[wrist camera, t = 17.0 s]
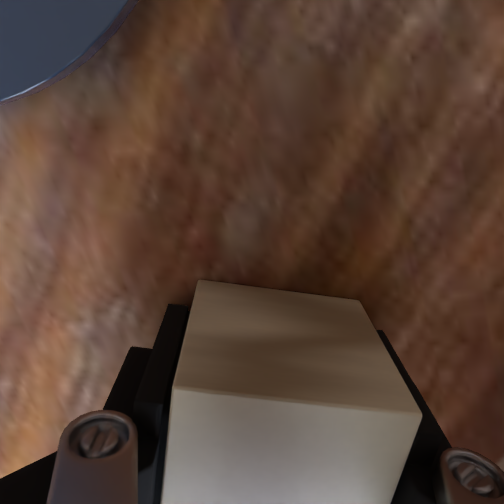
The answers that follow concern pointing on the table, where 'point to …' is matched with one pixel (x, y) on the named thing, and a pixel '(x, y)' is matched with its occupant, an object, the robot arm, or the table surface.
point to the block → (284, 403)
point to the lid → (52, 40)
